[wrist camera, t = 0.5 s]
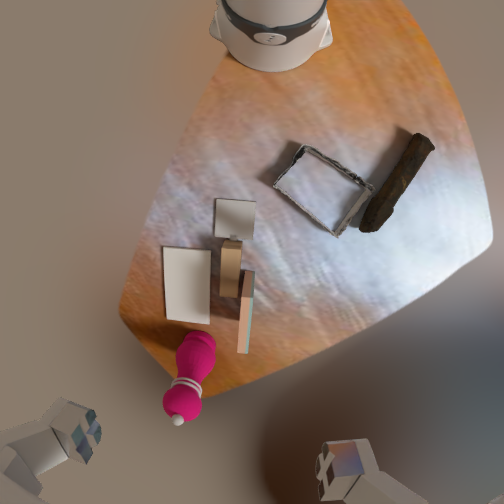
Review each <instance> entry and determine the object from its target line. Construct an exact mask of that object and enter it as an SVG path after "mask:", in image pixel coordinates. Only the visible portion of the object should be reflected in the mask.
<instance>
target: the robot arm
mask: <svg viewBox="0 0 504 504" xmlns="http://www.w3.org/2000/svg"><path fill="white" fill-rule="evenodd" d="M216 3H217V5H219V6H218V9H217V10H216V11H215V15H214V18H213V20H212V23H211V26H210V29H209V31H210V34H211V35H212V36H213V37H214V38H215V39H217V40H219V41H221V42H223V43H224V45H225V46H226V47H227V49H228V50H229V52H230V53H231V54H232V55H233V57H235V58H236V59H237V60H238V61H239V62H241V63H242V64H244V65H246V66H248V67H250V68H253V69H256V70H260V71H266V72H280V71H286V70H290V69H293V68H295V67H297V66H299V65H301V64H303V63H304V62H305V61H307V60H308V59H309V58H310V57H311V56H312V55H313V54H314V53H315V52H316V51H318V50H321V49H324V48H326V47H328V46H330V45H331V43H332V40H333V38H332V33H331V28H330V24H329V23H330V21H329V19H328V15H327V11H326V4H327V0H217V2H216ZM96 417H97V416H96V413H95V411H94V410H92V409H89V408H87V407H84V406H81V405H79V404H77V403H74V402H72V401H69V400H67V399H64V398H62V397H60V398H58V399H57V400H56V401H55V402H54V403H53V404H52V406H51V407H50V408H49V409H48V410H47V411H46V413H45V414H44V415H43V416H42V418H41V419H40V420H39V421H37V420H34V421H31V422H28V423H25V424H22V425H19V426H16V427H13V428H10V429H6V430H3V431H0V504H49V503H47V502H45V501H44V500H42V499H40V498H39V497H38V495H39V494H40V492H41V490H42V488H43V487H42V484H41V483H40V482H39V481H38V479H37V478H36V477H35V476H37V475H39V474H41V473H43V472H45V471H47V470H48V469H50V468H52V467H54V466H56V465H58V464H59V463H61V462H63V461H65V460H66V459H68V457H69V458H71V459H73V460H76V461H78V462H81V463H83V464H87V463H88V461H89V459H90V458H91V456H92V454H93V451H92V448H93V447H95V446H97V445H98V443H99V442H100V439H101V434H102V433H101V426H100V424H99V423H98V422H97V421H96V420H95V418H96ZM322 452H323V453H321V454H320V455H319V456H318V459H317V462H316V476H317V478H318V479H319V480H320V481H321V482H320V484H319V486H318V490H319V497H320V501H330V500H340V499H344V501H345V503H346V504H429V503H428V501H426V500H425V499H423V498H421V497H420V496H419V495H417V494H415V493H414V492H412V491H411V490H409V489H408V488H406V487H405V486H404V485H402V484H401V483H399V482H398V481H396V480H395V479H393V478H392V477H390V476H389V475H388V474H386V473H385V472H383V471H382V472H379V469H378V466H377V463H376V460H375V457H374V455H373V452H372V449H371V446H370V443H369V441H368V440H367V439H358V440H344V441H333V442H325V443H324V444H323V446H322ZM487 504H504V493H503V494H502V495H500V496H498V497H497V498H495V499H494V500H492V501H490V502H488V503H487Z"/></svg>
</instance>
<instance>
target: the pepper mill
mask: <svg viewBox="0 0 504 504" xmlns="http://www.w3.org/2000/svg"><path fill="white" fill-rule="evenodd" d="M215 348H216V343H215V341H214V339H213V338H212V336H210V335H209V334H208V333H205V332H203V331H192V332H190V333H188V334H187V335H186V336H185V338H184V341H183V343H182V344H181V345H180V346H179V347H178V349H177V353H176V364H177V367H178V376H177V378H176V379H175V380H173V382H172V385H171V387H170V389H169V390H168V391H167V392H166V393H165V395H164V397H163V407H164V410H165V412H166V413H167V414H168V415H169V416H170V417H171V418H172V422H173V424H175V425H181V424H182V423H183V421H191V420H193V419H195V418H196V417H197V416H198V415H199V413H200V411H201V407H202V403H201V399H200V397H201V393H202V388H201V386H200V384H201V382H202V380H203V379H204V378H205V377H206V376H207V375H208V374H209V373H210V371H211V370H212V368H213V367H214V364H215V360H216V358H215V353H214V352H215Z"/></svg>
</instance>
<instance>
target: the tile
mask: <svg viewBox="0 0 504 504" xmlns="http://www.w3.org/2000/svg"><path fill="white" fill-rule="evenodd" d="M254 278H255V271H245V276H244V283H243V290H242V297H241V310H240V323H239V337H238V350H237V353H246V354H248V346H249V336H250V326H251V316H252V305H253V294H254Z"/></svg>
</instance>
